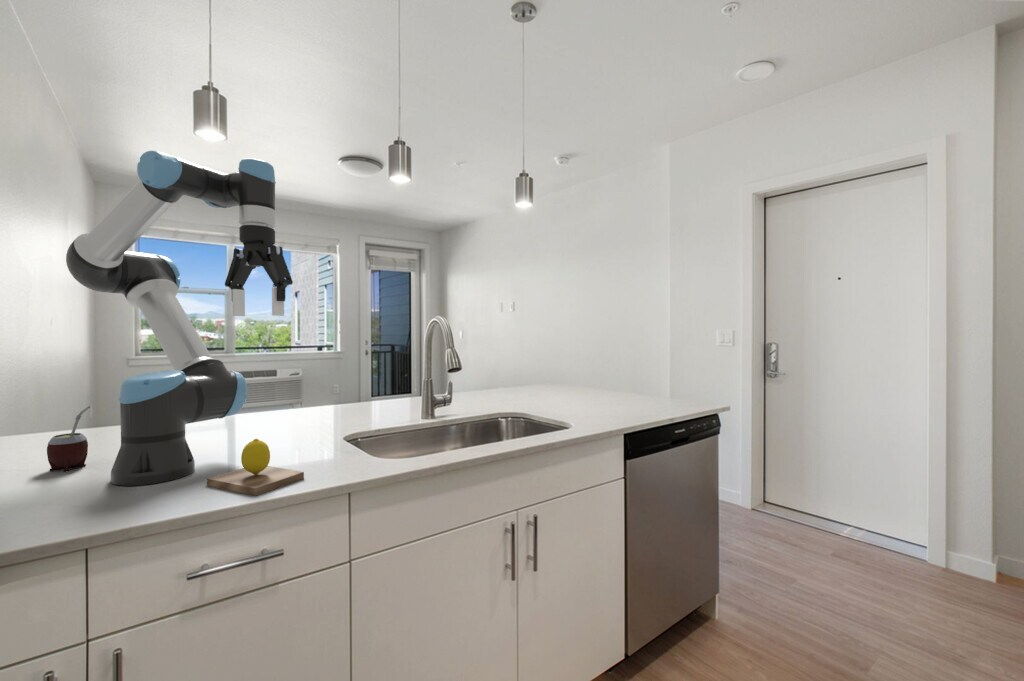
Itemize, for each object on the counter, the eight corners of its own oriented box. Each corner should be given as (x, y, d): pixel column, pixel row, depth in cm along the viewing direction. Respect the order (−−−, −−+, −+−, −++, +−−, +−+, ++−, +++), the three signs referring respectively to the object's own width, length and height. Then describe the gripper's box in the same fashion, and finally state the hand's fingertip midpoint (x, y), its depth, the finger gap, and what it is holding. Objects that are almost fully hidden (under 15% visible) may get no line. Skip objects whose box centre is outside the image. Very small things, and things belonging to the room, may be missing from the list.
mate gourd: (50, 467, 111) (49, 405, 111) (94, 462, 116) (93, 402, 116) (44, 475, 106) (43, 409, 105) (90, 469, 110) (89, 406, 110)
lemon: (257, 480, 98) (257, 442, 98) (235, 478, 100) (235, 441, 99) (275, 472, 104) (275, 436, 104) (254, 470, 105) (254, 435, 105)
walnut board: (206, 485, 99) (206, 478, 99) (257, 470, 110) (257, 463, 110) (255, 495, 93) (255, 488, 93) (303, 478, 104) (303, 471, 104)
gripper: (308, 226, 110) (308, 315, 110) (237, 234, 120) (237, 316, 120) (281, 218, 103) (281, 314, 103) (207, 228, 113) (208, 315, 113)
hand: (257, 316), depth 112 cm, fingers open, 13 cm apart
